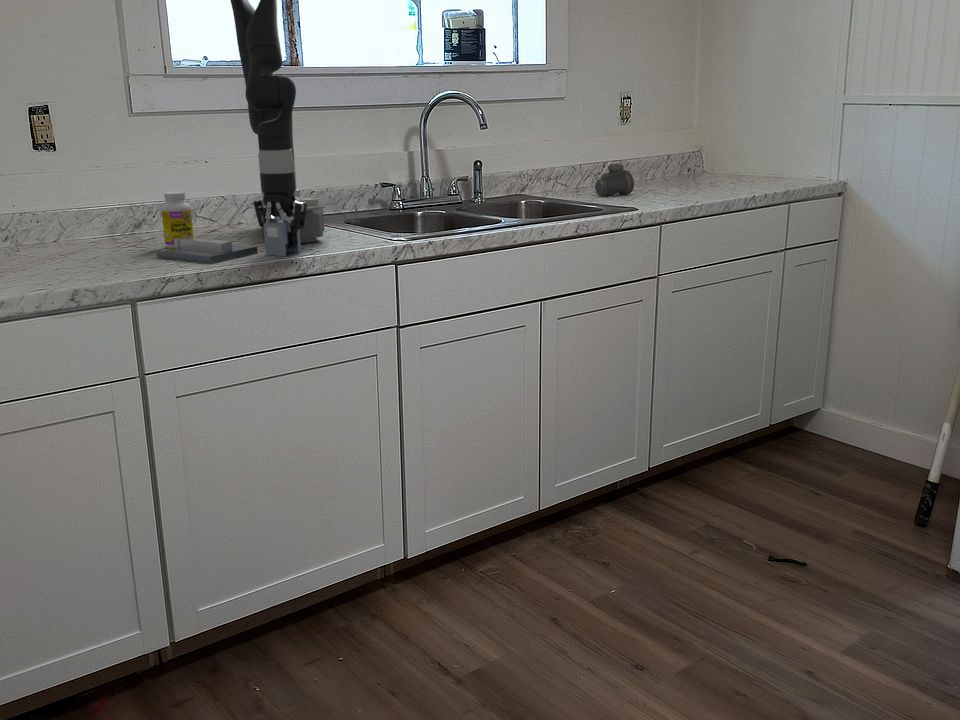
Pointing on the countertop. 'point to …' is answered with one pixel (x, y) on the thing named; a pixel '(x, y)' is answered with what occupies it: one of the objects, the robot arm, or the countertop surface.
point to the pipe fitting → (615, 181)
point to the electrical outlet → (310, 220)
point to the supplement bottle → (176, 218)
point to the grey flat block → (205, 250)
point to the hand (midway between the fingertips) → (283, 246)
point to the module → (278, 239)
